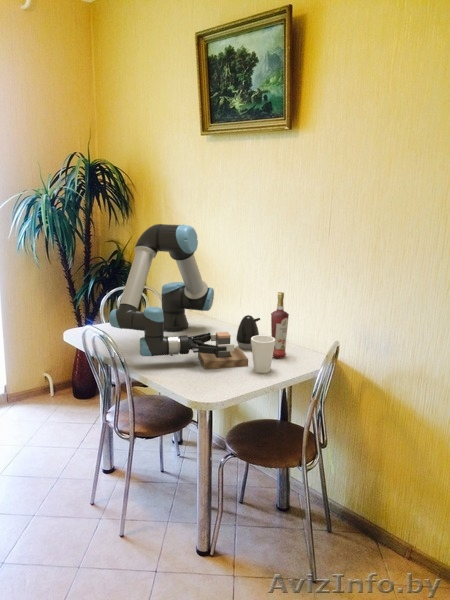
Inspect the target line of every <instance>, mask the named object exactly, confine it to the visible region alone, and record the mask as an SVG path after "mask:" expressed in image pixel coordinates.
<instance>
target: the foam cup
mask: <svg viewBox="0 0 450 600" xmlns="http://www.w3.org/2000/svg"><path fill="white" fill-rule="evenodd" d="M251 346H252V349H251V353H252V355H251V356H252V362H253V364H252V365H253V371H254V372H255V373H258V374H267V373H270V371H271V368H272V361H273V358H274V357H273V351H274V346H275V338H273V337H271V336H270V335H265V334H263V335H262V334H261V335H260V334H259V335H258V336H253V337H252V338H251Z"/></svg>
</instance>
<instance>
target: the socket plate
mask: <svg viewBox="0 0 450 600" xmlns="http://www.w3.org/2000/svg"><path fill="white" fill-rule="evenodd" d="M197 355H198V356H197V357H198V360H199V362H200V363H201V365H202V367H203V369H204V370H211V369H213V370H214V369H224V368H226V369H227V368H228V369H229V368H238V367H239V368H240V367H241V368H243V367H249V358H248V357H247V355H246V354H245V353H244V352H243V351H242V348H241V347H234V351H230V357H222V358H217V357H216V354H208V353H197Z"/></svg>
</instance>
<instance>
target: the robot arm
mask: <svg viewBox="0 0 450 600" xmlns="http://www.w3.org/2000/svg"><path fill="white" fill-rule="evenodd" d="M198 244H199V241H198V234H197V232H196V229H195V228H194V227H193V226H191V225H188V224H187V225H186V224H163V223H157V224H153V225H151V226H148V228H147V229H145V230H144V231H143V232H142V234H141V235H140V236H139V237H138V239H137V241H136V242H135V247H134V248H133V251H134V253H135V254H134V257H133V261H132V263H131V267H130V270H129V274H128V277H127V281H126V282H125V286H124V289H123V291H122V292H123V294H122V296H121V299H120V302H119V306H118V308H114V309H112V310H111V311H110V312H109V316H108V321H109V325H110V326H111V327H113V328H117V329H121V330H122V329H124V330H132V331H133V330H135V331H142V332H144V337H140V338H139V353H140V356H142V357H157V356H158V357H160V356H171V357H172V356H174V355H175V356H176V355H177V356H178V355H179V354H180V355H188V354H189V353H190V350H191V351H192V353H194V354H198V353H208V354H218V352H226V351H234V348H235V343H230V344H225V345H218V346H216V344H215V345H214V344H210V343H209V342H216V334H211V332H207V333H206V332H205V333H202V334H198V335H191V336H188V335H179V336H178V335H169V336H164V333H165V332H167V333H169V332H170V333H171V332H172V333H175V332H183V331H186V330H188V329H189V322H188V318H187V315H186V310H190V311H200V312H208V311H210V310H211V309H212V307H213V304H214V299H215V297H214V296H215V289H214V288H213V287H209V286H208V284H207V283H206V282H205V281H204V280H203V279H202V275H201V272H200V269H199V265H198V263H197V260H196V257H195V252H196V251H197V250H198V249H197V248H198ZM159 252H163V253H164V252H165V253H166V252H167V253H168V254H169V256H170V258H171V259H173V260H174V261H175V263H176V265H177V267H178V271H179V273H180V276H181V279H182V281H174V282H169V283H165V284H163V285H162V286H161V307H158V306H147V307H146V308H144V309H143V311H139V306H140V303H141V299H142V295H143V293H144V289H145V285H146V282H147V280H148V276H149V272H150V269H151V266H152V261H153V259H155V258H156V256H157V254H158V253H159Z"/></svg>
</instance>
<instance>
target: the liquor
mask: <svg viewBox="0 0 450 600" xmlns="http://www.w3.org/2000/svg"><path fill="white" fill-rule="evenodd" d="M284 298H285V292H284V291H283V292H282V291H281V292H280V291H279V292H277V304H276V309H275V310H274V311H273V312H271V313H270V321H271V322H270V323H271V324H270V325H271V326H270V327H271V330H270V331H271V337H273V338H275V346H274V351H273V357H272V358H275V359H283V358H285V356H287V352H286V348H287V334H288V328H289V327H288V326H289V315H290V314H289V313H288V312H287V311H285V310H284V309H285V308H284V307H285V306H284Z"/></svg>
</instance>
